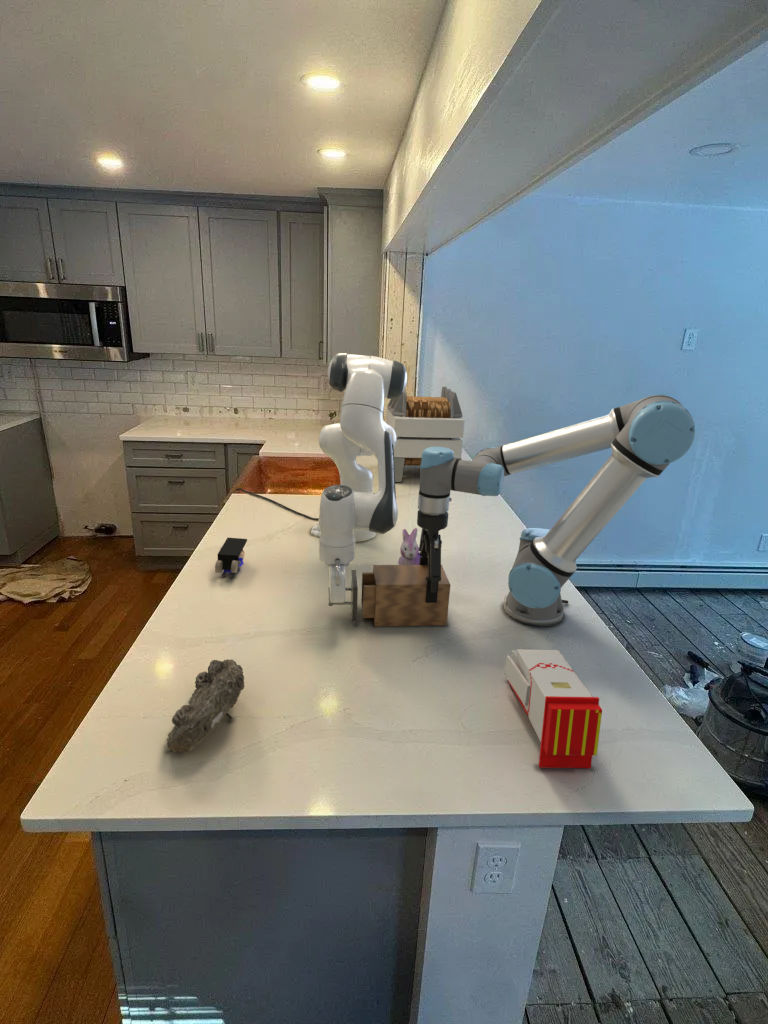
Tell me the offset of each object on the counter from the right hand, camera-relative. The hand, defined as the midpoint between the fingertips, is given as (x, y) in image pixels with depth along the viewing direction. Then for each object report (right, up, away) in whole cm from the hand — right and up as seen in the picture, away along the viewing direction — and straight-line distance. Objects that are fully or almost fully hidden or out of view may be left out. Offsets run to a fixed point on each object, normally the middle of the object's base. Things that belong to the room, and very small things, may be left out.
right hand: (427, 590), depth 146 cm
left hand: (-23, -2, -1) cm, 23 cm away
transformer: (+6, +39, +129) cm, 135 cm away
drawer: (-14, -5, +1) cm, 15 cm away
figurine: (-3, +1, +23) cm, 23 cm away
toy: (+20, -20, -33) cm, 44 cm away
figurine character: (-56, +3, +22) cm, 60 cm away
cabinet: (-5, -6, +2) cm, 8 cm away
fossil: (-44, -19, -38) cm, 61 cm away
